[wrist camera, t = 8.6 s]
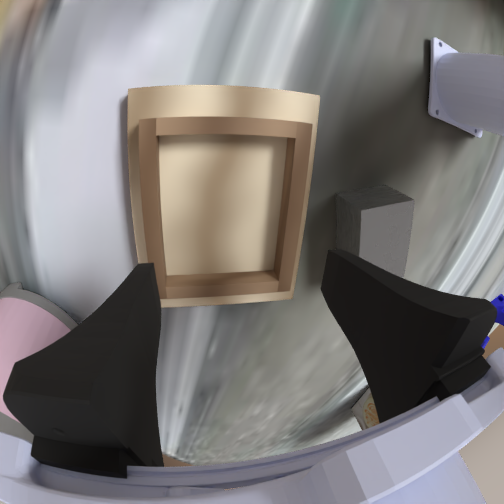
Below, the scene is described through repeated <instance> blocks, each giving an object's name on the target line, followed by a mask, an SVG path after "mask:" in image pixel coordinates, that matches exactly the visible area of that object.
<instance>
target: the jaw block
mask: <svg viewBox="0 0 504 504" xmlns="http://www.w3.org/2000/svg"><path fill="white" fill-rule="evenodd" d="M413 210H414V199H412V198H410V197H408V196H406V195H404V194H402V193H401V192H399V191H397V190H395V189H393V188H391V187H389V186H387V185H382V186H375V187H369V188H363V189H357V190H351V191H345V192H339V193H336V249H342V250H345V251H347V252H349V253H352V254H354V255H356V256H358V257H360V258H362V259H364V260H366V261H368V262H370V263H372V264H374V265H376V266H378V267H380V268H382V269H384V270H386V271H388V272H390V273H392V274H394V275H397V276H399V277H403V276H404V272H405V267H406V261H407V255H408V249H409V243H410V236H411V228H412V220H413Z"/></svg>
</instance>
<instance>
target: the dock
mask: <svg viewBox="0 0 504 504" xmlns="http://www.w3.org/2000/svg"><path fill="white" fill-rule="evenodd" d="M319 103H320V96H319V95H313V94H307V93H301V92H294V91H286V90H278V89H269V88H258V87H245V86H226V85H173V86H155V87H142V88H132V89H128V119H127V130H128V166H129V183H130V197H131V208H132V218H133V227H134V235H135V243H136V251H137V257H138V264H140V263H154V268H155V274H156V279H157V285H158V290H159V296H160V301H161V308H165V307H189V306H207V305H224V304H238V303H251V302H264V301H275V300H286V299H292V298H293V293H294V287H295V282H296V276H297V270H298V264H299V258H300V252H301V246H302V240H303V233H304V227H305V220H306V213H307V206H308V199H309V192H310V184H311V176H312V168H313V160H314V152H315V143H316V134H317V124H318V114H319Z"/></svg>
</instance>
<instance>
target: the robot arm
mask: <svg viewBox="0 0 504 504" xmlns="http://www.w3.org/2000/svg"><path fill="white" fill-rule="evenodd" d="M428 113H429V115H431V116H433V117H435V118H438V119H440V120H442V121H445V122H447V123H449V124H451V125H454V126H456V127H458V128H460V129H462V130H464V131H466V132H468V133H470V134H472V135H474V136H476V137H479V138H480V137H481V136H482V130H486V131H489V132H492V133H495V134H499V135H502V136H504V55H495V54H481V53H459V52H457V51H456V50H454V49H453V48H452V47H450V46H449V45H447V44H445V43H444V42H442V41H441V40H439V39H438V38H436V37H433V38H431V72H430V91H429V104H428ZM321 291H322V293H323V296H324V298H325V301H326V303H327V305H328V307H329V309H330V311H331V312H332V314H333V316H334V317H335V319H336V321H337V322H338V324H339V326H340V327H341V329H342V330H343V332H344V334H345V335H346V337H347V339H348V340H349V342H350V344H351V345H352V347H353V349H354V351H355V353H356V355H357V357H358V360H359V362H360V364H361V367H362V369H363V372H364V374H365V377H366V380H367V382H368V385H369V388H370V391H371V394H372V397H373V400H374V404H375V407H376V411H377V415H378V419H379V424H378V425H375V426H373V427H370V428H367V429H365V430H362V431H360V432H357V433H354V434H351V435H348V436H346V437H343V438H340V439H336V440H333V441H330V442H327V443H324V444H320V445H317V446H313V447H309V448H306V449H302V450H298V451H294V452H289V453H285V454H280V455H276V456H271V457H265V458H260V459H254V460H248V461H241V462H233V463H225V464H215V465H203V466H185V467H164V463H163V457H162V451H161V444H160V436H159V427H158V417H157V403H156V365H157V356H158V347H159V338H160V330H161V301H160V296H159V290H158V285H157V279H156V274H155V268H154V263H140V264H138V265H137V266H136V267H135V268H134V270H133V271H132V272H131V273H130V274H129V275H128V277H127V278H126V279H125V280H124V281H123V282H122V284H121V285H120V286H119V287H118V288H117V289H116V290H115V291H114V293H113V294H112V295H111V296H110V297H109V298H108V299H107V300H106V301H105V302H104V303H103V304H102V305H101V306H100V307H99V308H98V309H97V310H96V311H95V312H94V313H92V314H91V315H90V316H89V317H88V318H87V319H86V320H84V321H83V322H82V323H81V324H79V325H78V326H77V327H75V328H74V329H72V330H71V331H70V332H68V333H67V334H66V335H64V336H63V337H61V338H60V339H58V340H57V341H55V342H54V343H52V344H50V345H49V346H47V347H45V348H43V349H42V350H40V351H38V352H36V353H34V354H32V355H30V356H28V357H26V358H24V359H21V360H19V361H17V362H15V364H14V366H13V368H12V371H11V374H10V376H9V379H8V382H7V384H6V387H5V390H4V393H3V401H4V403H5V405H6V407H7V409H8V410H9V411H10V412H11V414H12V415H13V416H14V417H15V418H16V419H17V420H18V421H19V422H20V423H21V424H22V425H23V426H24V427H26V428H27V429H28V430H29V431H30V432H31V433H32V434H33V435H34V438H33V443H31V442H29V441H27V440H25V439H23V438H20V437H17V436H13V435H10V434H7V433H4V432H0V501H2V502H4V503H6V504H487V503H486V501H485V499H484V497H483V495H482V494H481V492H480V490H479V488H478V486H477V484H476V482H475V480H474V479H473V477H472V475H471V473H470V471H469V470H468V468H467V466H466V464H465V462H464V461H463V459H462V457H461V456H460V454H459V452H458V450H460V449H461V448H462V447H464V446H465V445H466V444H468V443H469V442H470V441H471V440H472V439H473V438H475V437H476V436H477V435H478V434H479V433H481V432H482V431H483V430H484V429H485V428H486V427H487V426H488V425H490V424H491V423H492V422H493V421H494V420H495V419H496V418H497V417H498V416H499V415H500V414H501V413H502V412H503V411H504V350H503V349H502V348H499V349H497V350H496V351H495V352H493V353H492V354H491V355H490V356H488V357H487V358H486V360H485V359H484V358H483V356H482V355H483V354H484V352H485V351H484V349H483V348H482V347H481V345H482V343H483V342H484V340H485V338H486V337H487V335H488V333H489V332H490V330H491V328H492V327H493V325H494V323H495V320H496V318H497V308H496V307H495V306H494V305H493V304H492V303H491V302H490V301H488V300H486V299H480V298H471V297H463V296H458V295H453V294H449V293H445V292H441V291H437V290H434V289H430V288H427V287H424V286H421V285H419V284H416V283H413V282H411V281H408V280H406V279H403V278H401V277H399V276H397V275H394V274H392V273H390V272H388V271H386V270H384V269H382V268H380V267H378V266H376V265H374V264H372V263H370V262H368V261H366V260H364V259H362V258H360V257H358V256H356V255H354V254H352V253H349V252H347V251H345V250H342V249H336V250H328V254H327V260H326V265H325V270H324V276H323V281H322V286H321ZM245 486H246V487H245ZM238 487H241V488H238ZM230 488H236V489H231V490H224V489H230Z"/></svg>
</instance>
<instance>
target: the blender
mask: <svg viewBox="0 0 504 504" xmlns="http://www.w3.org/2000/svg"><path fill="white" fill-rule="evenodd" d="M22 289H23V287H22V284H21V283H20V282H17V283H12V284H10V285H8V286H7V287H6V288H5V289H4V290H3V291H2V292H1V293H0V432H4V433H7V434H10V435H13V436H17V437H20V438H23V439H25V440H27V441H29V442H31V443H33V438H34V435H33V434H32V433H31V432H30V431H29V430H28V429H27V428H26V427H24V426H23V425H22V424H21V423H20V422H19V421H18V420H17V419H16V418H15V417H14V416H13V415H12V414H11V412H10V411H9V410H8V409H7V407H6V405H5V403H4V401H3V393H4V390H5V387H6V384H7V382H8V379H9V376H10V374H11V371H12V368H13V366H14V364H15V362H17V361H19V360H21V359H24V358H26V357H28V356H30V355H32V354H34V353H36V352H38V351H40V350H42V349H43V348H45V347H47V346H49V345H50V344H52V343H54V342H55V341H57V340H58V339H60V338H61V337H63V336H64V335H66V334H67V333H68V332H70V331H71V330H72V329H74V328H75V327H77V326H78V324H77V323H76V322H75V321H74V320H73V319H72V318H71V317H70V316H69V315H68V314H67V313H66V312H65V311H63V310H62V309H61V308H60V307H58V306H57V305H56V304H54V303H53V302H51V301H49V300H48V299H46V298H44V297H42V296H40V295H38V294H36V293H33V292H30V291H27V290H22ZM0 504H6V503H4V502H2V501H0Z"/></svg>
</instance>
